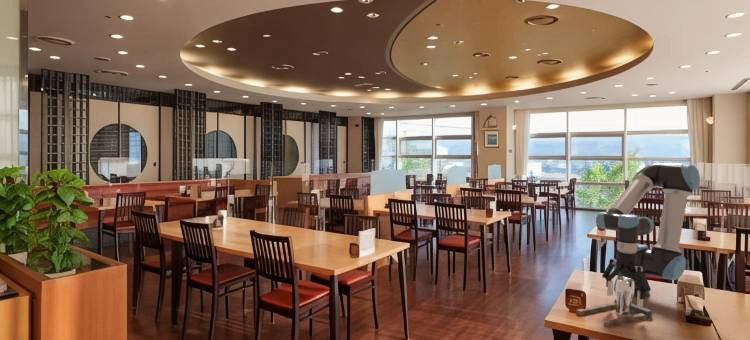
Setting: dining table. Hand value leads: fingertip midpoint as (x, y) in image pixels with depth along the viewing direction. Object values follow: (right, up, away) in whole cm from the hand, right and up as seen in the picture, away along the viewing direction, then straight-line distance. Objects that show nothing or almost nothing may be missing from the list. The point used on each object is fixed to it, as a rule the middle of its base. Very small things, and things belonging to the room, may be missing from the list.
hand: (624, 300), depth 185 cm
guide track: (-6, -6, -2) cm, 9 cm away
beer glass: (0, -6, 0) cm, 6 cm away
